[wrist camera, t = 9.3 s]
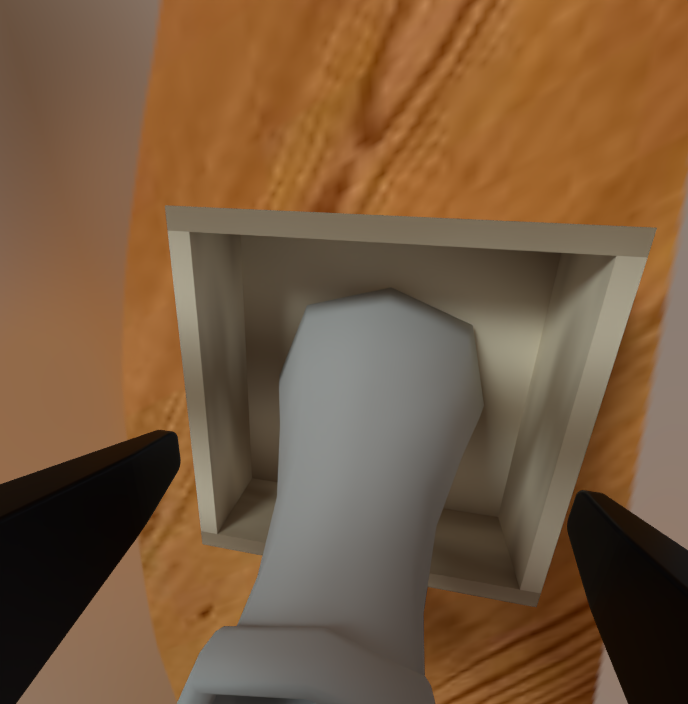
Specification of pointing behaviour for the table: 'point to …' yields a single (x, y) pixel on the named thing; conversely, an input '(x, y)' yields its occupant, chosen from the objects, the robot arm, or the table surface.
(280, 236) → the crate
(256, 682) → the flask
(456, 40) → the table surface
